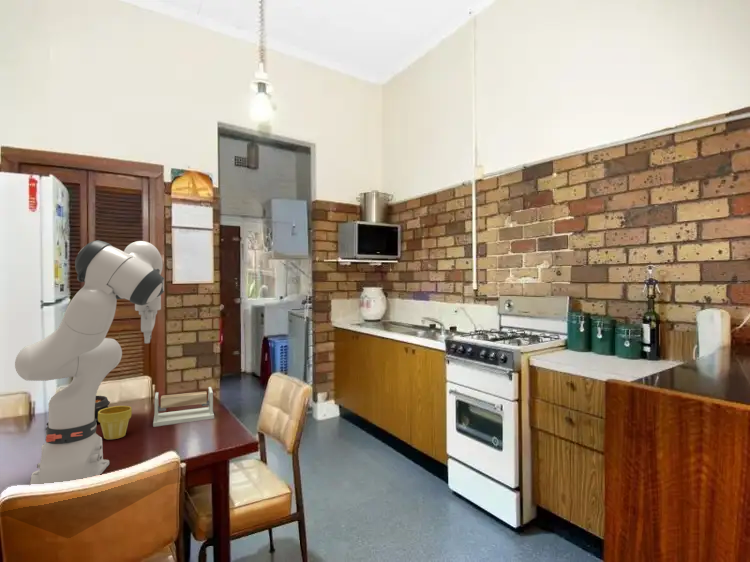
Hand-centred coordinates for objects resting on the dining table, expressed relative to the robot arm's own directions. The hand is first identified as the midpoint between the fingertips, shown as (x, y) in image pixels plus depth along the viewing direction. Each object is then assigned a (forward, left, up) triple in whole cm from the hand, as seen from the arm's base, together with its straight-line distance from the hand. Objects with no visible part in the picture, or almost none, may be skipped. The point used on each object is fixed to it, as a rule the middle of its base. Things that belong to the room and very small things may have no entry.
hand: (147, 341), depth 158 cm
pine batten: (+5, -13, -28) cm, 31 cm away
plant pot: (-6, +10, -33) cm, 35 cm away
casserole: (+18, +23, -33) cm, 44 cm away
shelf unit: (+5, -13, -33) cm, 36 cm away
